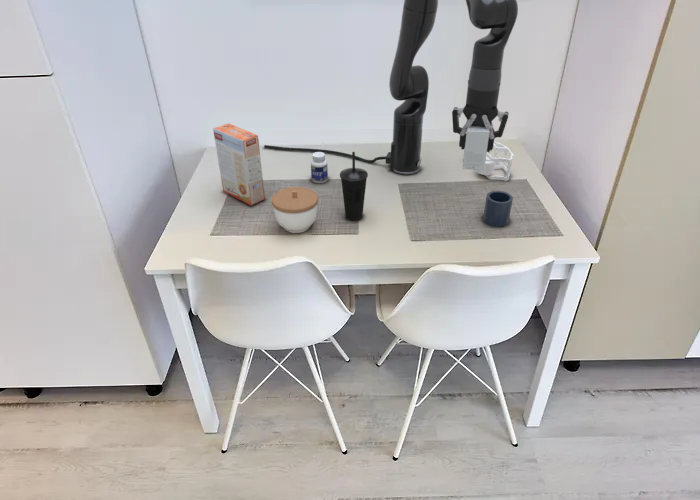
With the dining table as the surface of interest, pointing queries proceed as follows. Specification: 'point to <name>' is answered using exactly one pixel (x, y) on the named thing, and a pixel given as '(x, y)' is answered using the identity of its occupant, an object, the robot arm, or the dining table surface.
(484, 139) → the small box
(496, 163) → the skeletal toy car
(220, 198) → the dining table surface
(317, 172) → the pill bottle
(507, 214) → the coffee cup
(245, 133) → the cracker box
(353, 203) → the drinking cup
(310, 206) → the lidded bowl
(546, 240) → the dining table surface
